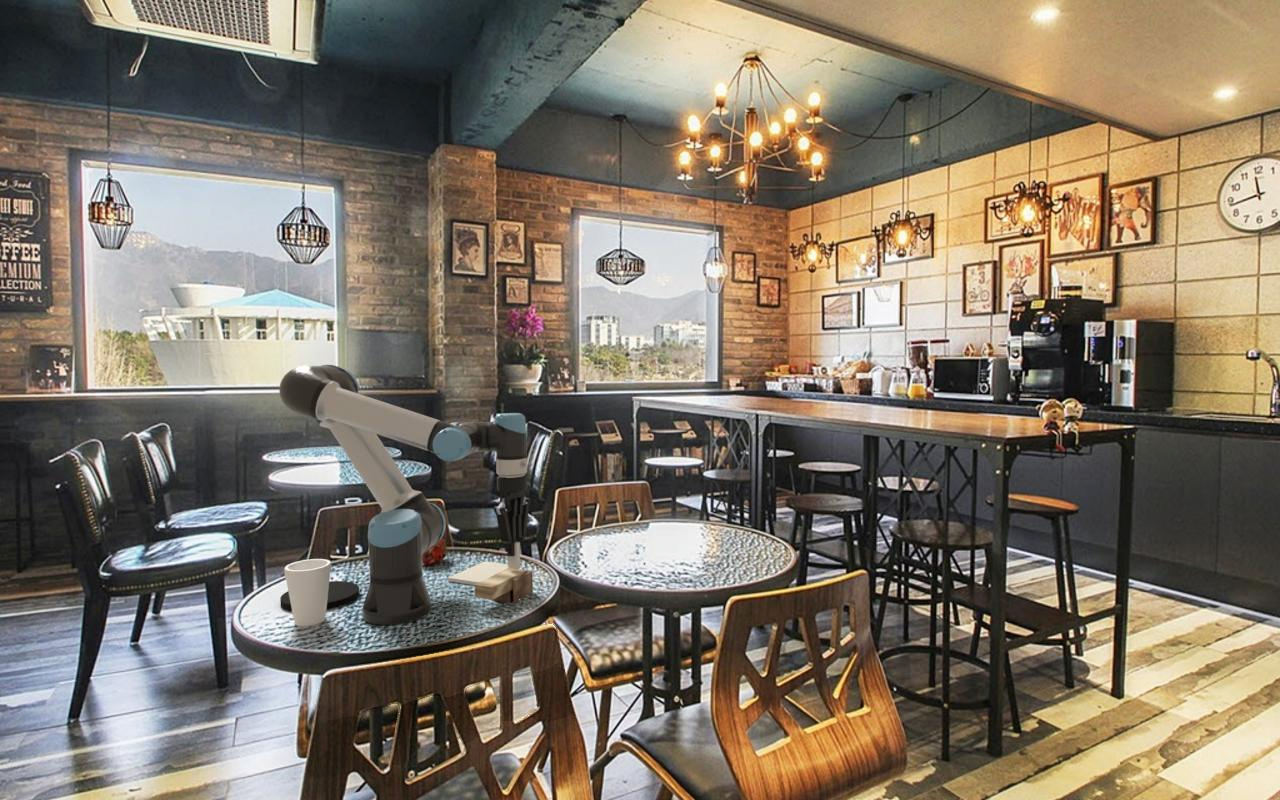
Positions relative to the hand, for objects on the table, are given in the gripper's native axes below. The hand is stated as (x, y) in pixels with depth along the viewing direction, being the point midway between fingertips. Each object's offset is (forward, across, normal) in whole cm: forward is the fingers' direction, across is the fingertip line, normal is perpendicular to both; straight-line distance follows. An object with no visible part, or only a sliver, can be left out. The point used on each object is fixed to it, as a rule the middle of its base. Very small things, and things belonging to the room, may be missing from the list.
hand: (514, 567), depth 171 cm
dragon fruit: (+7, +13, +38) cm, 41 cm away
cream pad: (+7, +10, +16) cm, 20 cm away
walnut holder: (+7, -1, 0) cm, 7 cm away
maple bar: (+4, -6, 0) cm, 7 cm away
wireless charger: (+7, -22, +43) cm, 49 cm away
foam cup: (+7, -33, +33) cm, 47 cm away
